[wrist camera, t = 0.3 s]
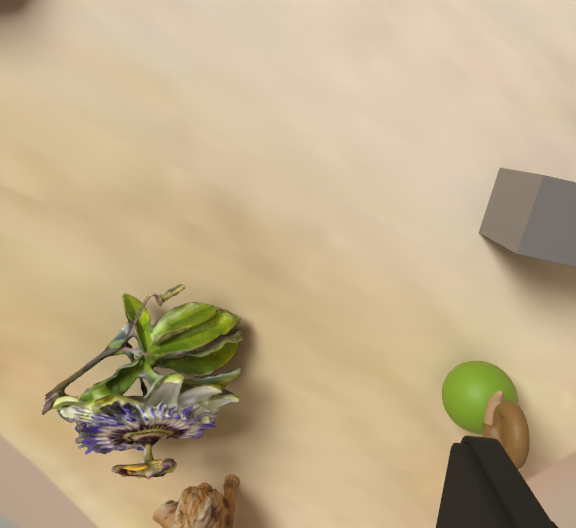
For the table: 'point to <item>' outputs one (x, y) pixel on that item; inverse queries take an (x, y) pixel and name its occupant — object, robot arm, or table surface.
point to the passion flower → (154, 383)
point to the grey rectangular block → (533, 216)
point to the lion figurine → (200, 507)
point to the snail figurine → (487, 406)
